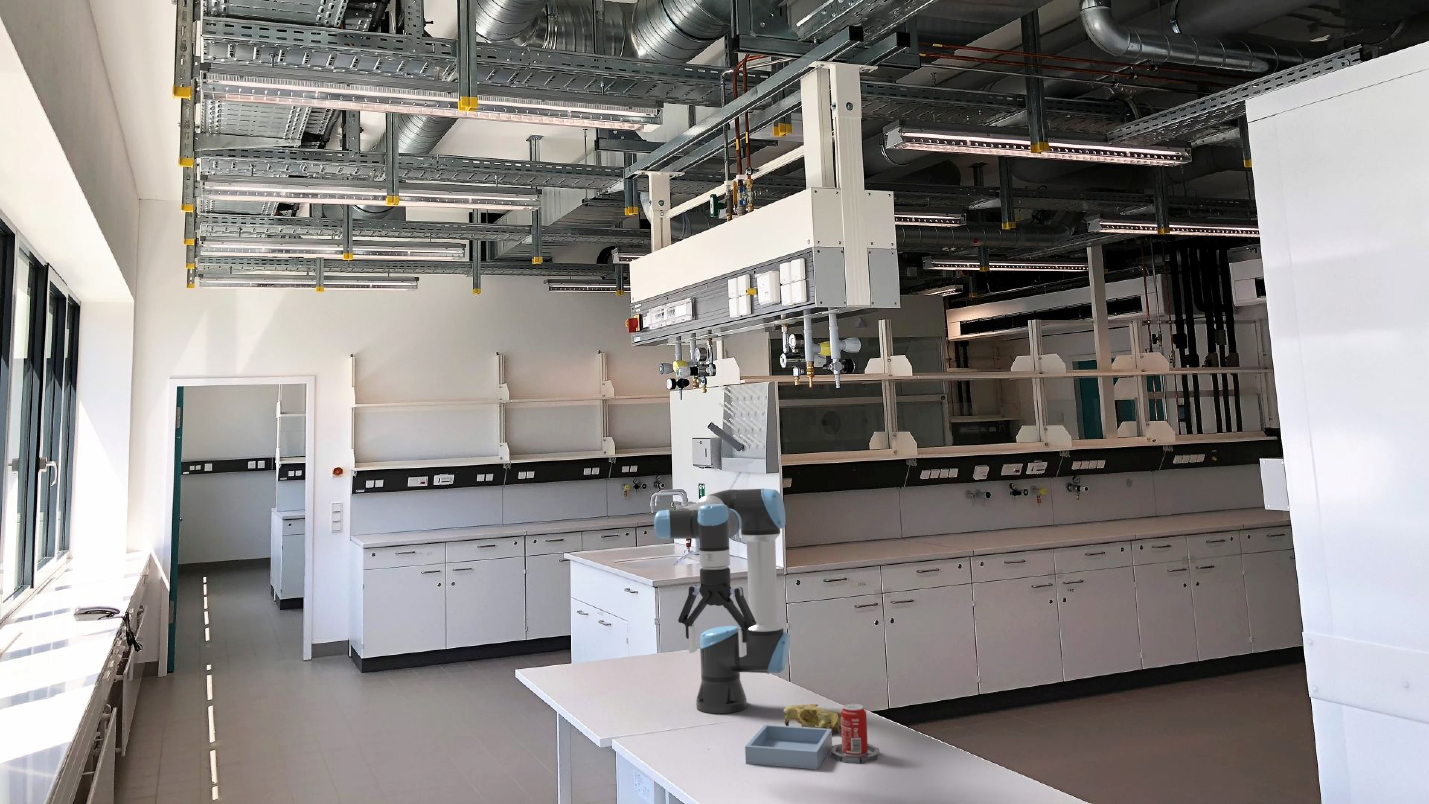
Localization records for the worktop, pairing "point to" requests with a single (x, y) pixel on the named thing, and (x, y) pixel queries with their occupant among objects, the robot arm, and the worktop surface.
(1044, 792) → the worktop surface
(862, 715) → the beverage can
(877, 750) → the ring
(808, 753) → the bin
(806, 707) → the animal skull
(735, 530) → the robot arm
